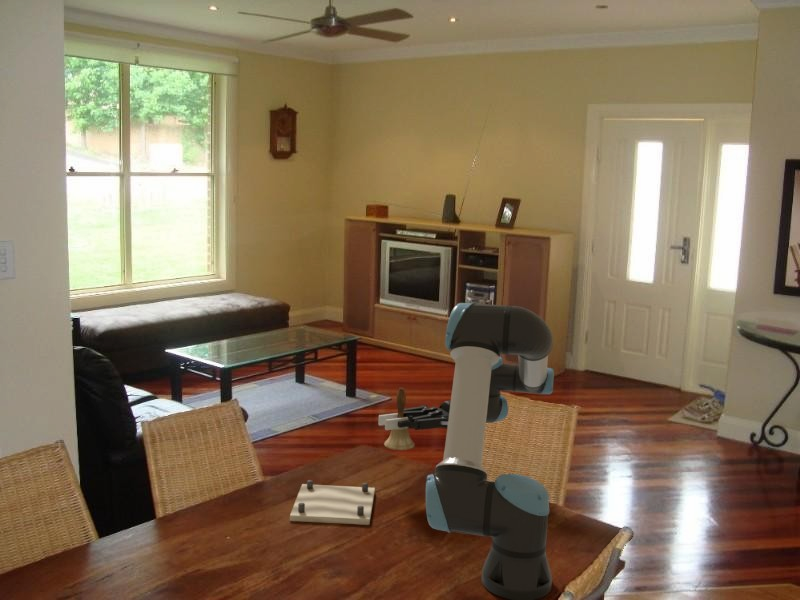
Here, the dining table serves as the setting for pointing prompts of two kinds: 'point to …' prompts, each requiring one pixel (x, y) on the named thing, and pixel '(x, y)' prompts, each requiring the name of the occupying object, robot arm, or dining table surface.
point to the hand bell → (400, 437)
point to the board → (333, 504)
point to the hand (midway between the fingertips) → (382, 422)
